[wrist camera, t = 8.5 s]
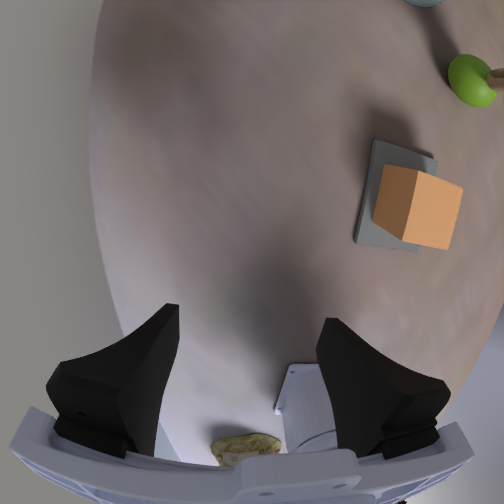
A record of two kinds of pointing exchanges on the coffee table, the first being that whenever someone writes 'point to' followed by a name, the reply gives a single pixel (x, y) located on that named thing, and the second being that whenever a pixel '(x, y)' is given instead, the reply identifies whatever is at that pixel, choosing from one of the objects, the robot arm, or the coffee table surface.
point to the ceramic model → (243, 448)
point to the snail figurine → (475, 80)
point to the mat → (379, 156)
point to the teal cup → (425, 2)
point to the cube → (417, 206)
